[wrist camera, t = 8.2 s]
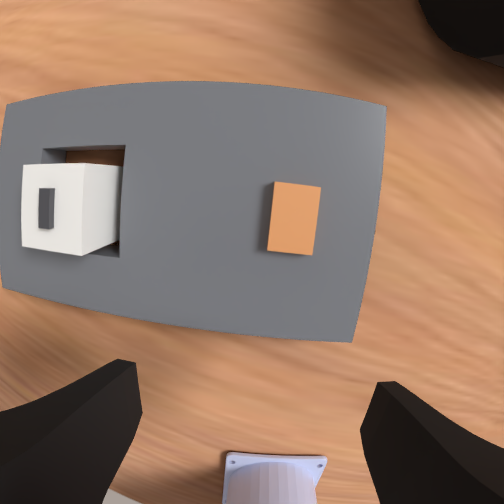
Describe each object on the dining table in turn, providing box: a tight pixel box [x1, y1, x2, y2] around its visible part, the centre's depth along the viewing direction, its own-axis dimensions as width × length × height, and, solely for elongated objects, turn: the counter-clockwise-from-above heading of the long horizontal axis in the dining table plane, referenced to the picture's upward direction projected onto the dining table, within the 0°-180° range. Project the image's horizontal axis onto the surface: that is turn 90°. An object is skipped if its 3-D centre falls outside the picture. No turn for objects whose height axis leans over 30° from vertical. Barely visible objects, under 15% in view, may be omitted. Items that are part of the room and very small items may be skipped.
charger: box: [21, 163, 124, 256], centre depth 14 cm, size 4×4×5 cm
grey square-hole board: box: [0, 81, 387, 343], centre depth 15 cm, size 12×22×3 cm, turn 84°
